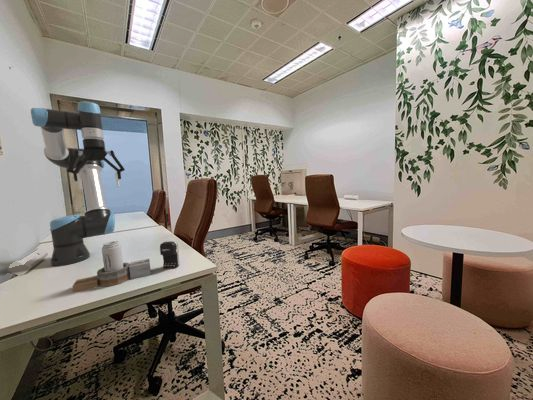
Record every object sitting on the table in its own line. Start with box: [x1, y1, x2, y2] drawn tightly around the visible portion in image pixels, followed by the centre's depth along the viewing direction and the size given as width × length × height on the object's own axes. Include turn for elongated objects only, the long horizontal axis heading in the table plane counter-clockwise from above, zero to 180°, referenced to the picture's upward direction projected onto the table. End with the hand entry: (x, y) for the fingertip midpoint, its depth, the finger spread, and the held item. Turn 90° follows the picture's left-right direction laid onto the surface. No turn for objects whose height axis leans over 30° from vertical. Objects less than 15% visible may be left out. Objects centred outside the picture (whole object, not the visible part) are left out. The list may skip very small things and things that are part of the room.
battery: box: [159, 240, 180, 269], centre depth 94 cm, size 7×4×11 cm, turn 81°
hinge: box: [72, 258, 152, 294], centre depth 85 cm, size 10×24×5 cm, turn 119°
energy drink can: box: [101, 240, 124, 272], centre depth 85 cm, size 6×6×15 cm
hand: (100, 187), depth 98 cm, fingers open, 13 cm apart
